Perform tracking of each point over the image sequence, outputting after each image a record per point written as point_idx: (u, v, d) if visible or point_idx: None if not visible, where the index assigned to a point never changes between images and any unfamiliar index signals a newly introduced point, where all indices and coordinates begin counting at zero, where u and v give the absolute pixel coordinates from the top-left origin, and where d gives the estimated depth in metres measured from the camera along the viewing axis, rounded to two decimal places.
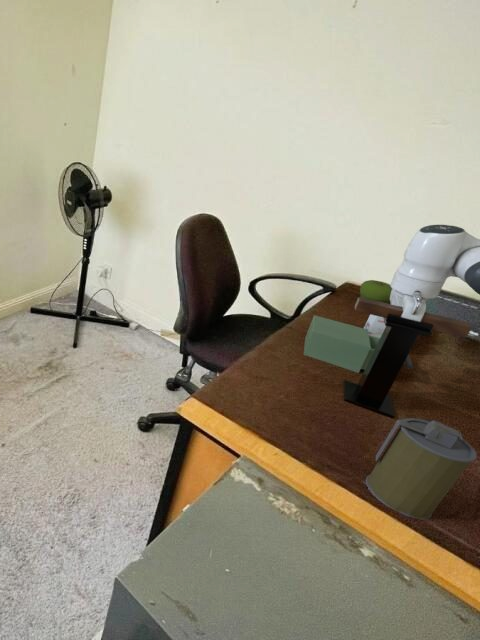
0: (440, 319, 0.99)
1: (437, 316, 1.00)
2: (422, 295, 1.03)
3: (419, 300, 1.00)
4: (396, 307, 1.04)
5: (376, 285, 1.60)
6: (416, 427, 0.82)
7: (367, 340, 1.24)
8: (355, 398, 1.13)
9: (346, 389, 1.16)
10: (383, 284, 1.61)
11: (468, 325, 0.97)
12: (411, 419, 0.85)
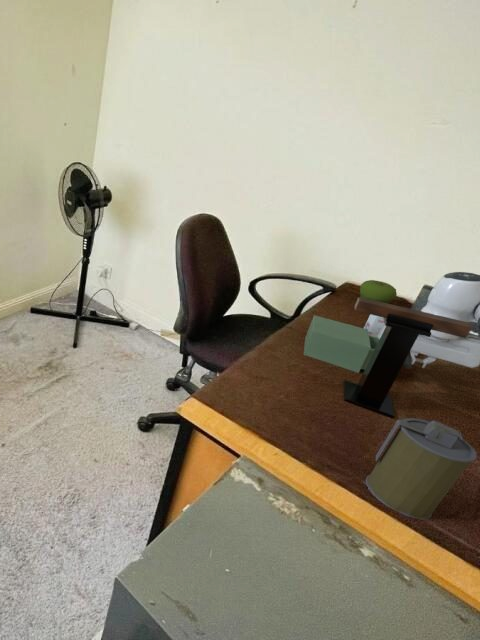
0: (440, 319, 0.99)
1: (437, 316, 1.00)
2: None
3: None
4: (396, 307, 1.04)
5: (376, 285, 1.60)
6: (416, 427, 0.82)
7: (367, 340, 1.24)
8: (355, 398, 1.13)
9: (346, 389, 1.16)
10: (383, 284, 1.61)
11: (468, 325, 0.97)
12: (411, 419, 0.85)
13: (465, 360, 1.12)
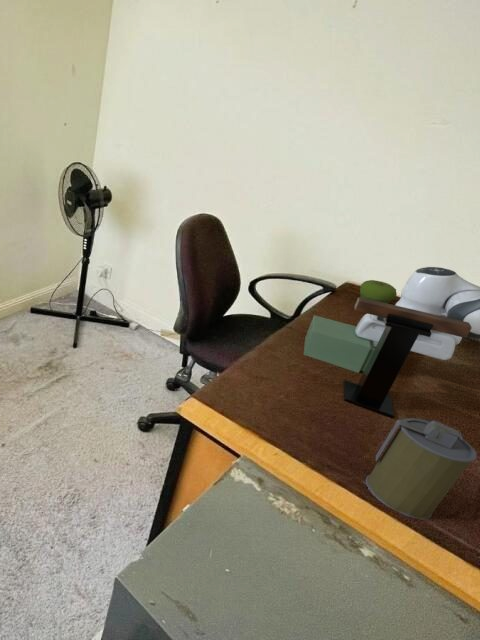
0: (440, 319, 0.99)
1: (437, 316, 1.00)
2: None
3: None
4: (396, 307, 1.04)
5: (376, 285, 1.60)
6: (416, 427, 0.82)
7: (367, 340, 1.24)
8: (355, 398, 1.13)
9: (346, 389, 1.16)
10: (383, 284, 1.61)
11: (468, 325, 0.97)
12: (411, 419, 0.85)
13: (437, 353, 1.15)
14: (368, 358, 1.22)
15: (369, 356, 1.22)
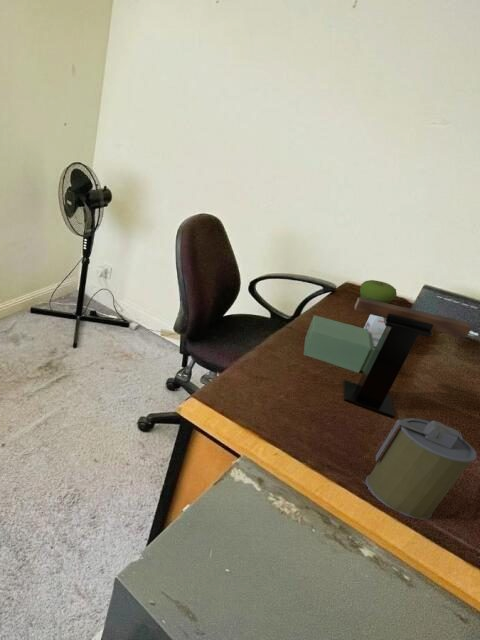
0: (440, 319, 0.99)
1: (437, 316, 1.00)
2: None
3: None
4: (396, 307, 1.04)
5: (376, 285, 1.60)
6: (416, 427, 0.82)
7: (367, 340, 1.24)
8: (355, 398, 1.13)
9: (346, 389, 1.16)
10: (383, 284, 1.61)
11: (468, 325, 0.97)
12: (411, 419, 0.85)
13: None
14: (368, 358, 1.22)
15: (369, 356, 1.22)
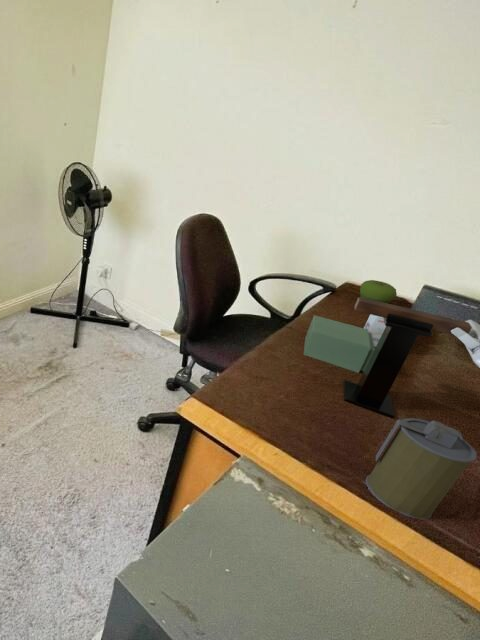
0: (440, 319, 0.99)
1: (437, 316, 1.00)
2: None
3: None
4: (396, 307, 1.04)
5: (376, 285, 1.60)
6: (416, 427, 0.82)
7: (367, 340, 1.24)
8: (355, 398, 1.13)
9: (346, 389, 1.16)
10: (383, 284, 1.61)
11: (468, 325, 0.97)
12: (411, 419, 0.85)
13: None
14: (368, 358, 1.22)
15: (369, 356, 1.22)
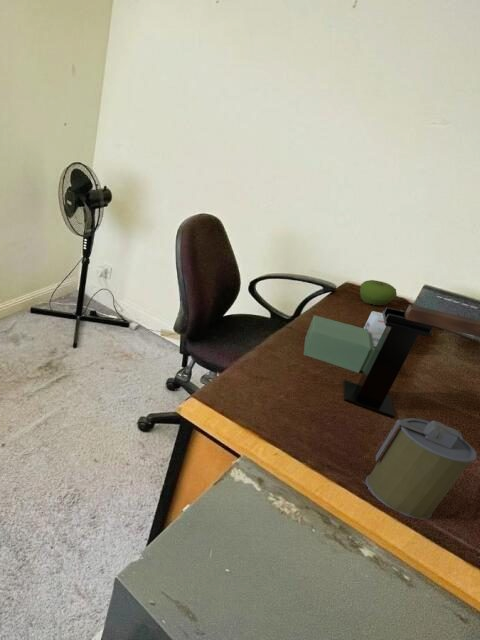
0: None
1: None
2: None
3: None
4: (453, 316, 0.96)
5: (376, 285, 1.60)
6: (416, 427, 0.82)
7: (367, 340, 1.24)
8: (355, 398, 1.13)
9: (346, 389, 1.16)
10: (383, 284, 1.61)
11: None
12: (411, 419, 0.85)
13: None
14: (368, 358, 1.22)
15: (369, 356, 1.22)
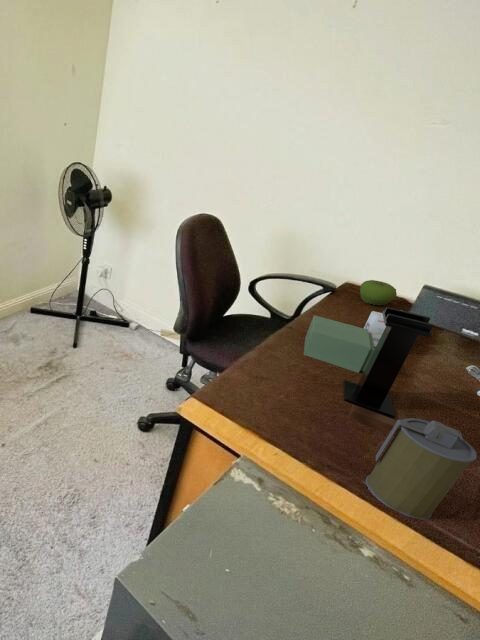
0: None
1: None
2: None
3: None
4: (390, 421, 1.03)
5: (376, 285, 1.60)
6: (416, 427, 0.82)
7: (367, 340, 1.24)
8: (355, 398, 1.13)
9: (346, 389, 1.16)
10: (383, 284, 1.61)
11: None
12: (411, 419, 0.85)
13: None
14: (368, 358, 1.22)
15: (369, 356, 1.22)
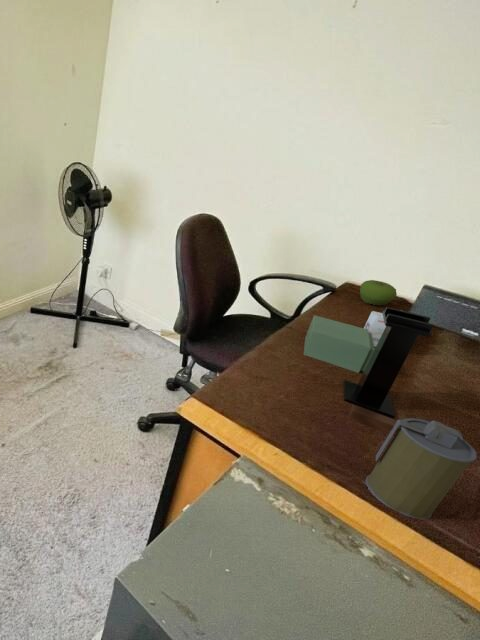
0: None
1: None
2: None
3: None
4: (390, 421, 1.03)
5: (376, 285, 1.60)
6: (416, 427, 0.82)
7: (367, 340, 1.24)
8: (355, 398, 1.13)
9: (346, 389, 1.16)
10: (383, 284, 1.61)
11: None
12: (411, 419, 0.85)
13: None
14: (368, 358, 1.22)
15: (369, 356, 1.22)
